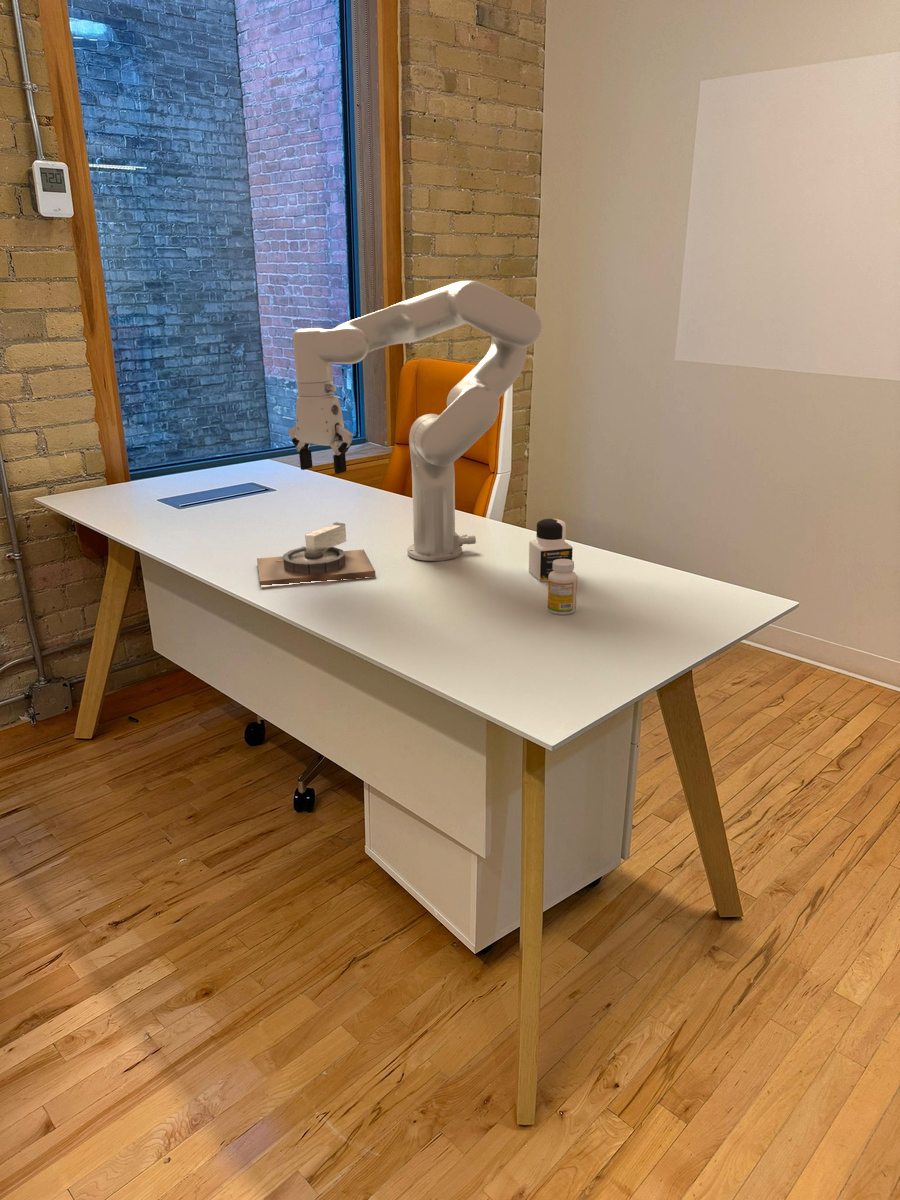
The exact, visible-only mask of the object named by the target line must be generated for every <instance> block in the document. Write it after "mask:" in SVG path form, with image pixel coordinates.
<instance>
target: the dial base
mask: <svg viewBox="0 0 900 1200" xmlns="http://www.w3.org/2000/svg"><path fill="white" fill-rule="evenodd" d="M327 550H328V551H332V552H335V553H336V554H337V557H336V558H335V559H332V560H328V561H324V562H315V563H303V562H295V561H293V560H291V556H292V555H294V554H296V553H299V552H302V551H306V546H303V547H298V548H294V549H291V550H288V551H287V552H286V553H284V554H283V555H282V556H270V557H260V558H258V557H257V558H256V561H257V563H256V564H257V571H259V572H258V579H260V580H259V585H272V584H289V583H300V582H311V581H327V580H341V579H342V580H343V579H354V580H357V579H356V578H364V579H366V578H365V577H375V578H376V570H375V567H374V566H373V564H372V563H371V561H370V558H369V557H368V555H367V552H366V551H365V549H354V550H343V549H340V548H337V547H336V546H334V547H331V548H329V549H327ZM343 581H344V580H343Z"/></svg>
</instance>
